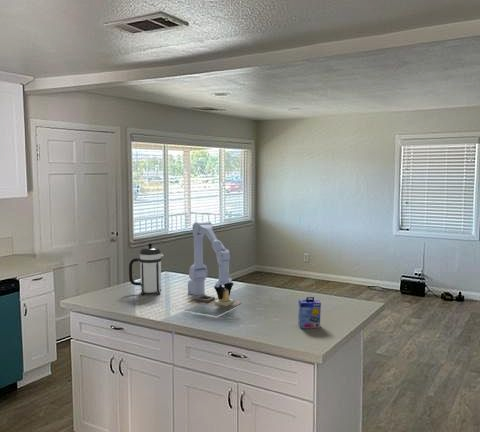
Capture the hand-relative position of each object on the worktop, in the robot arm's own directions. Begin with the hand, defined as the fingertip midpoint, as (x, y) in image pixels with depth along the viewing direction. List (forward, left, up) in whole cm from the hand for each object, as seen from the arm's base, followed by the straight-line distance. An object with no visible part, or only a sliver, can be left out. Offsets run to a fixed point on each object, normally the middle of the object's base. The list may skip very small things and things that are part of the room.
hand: (224, 297), depth 260 cm
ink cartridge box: (+53, -11, -4) cm, 54 cm away
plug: (0, 0, -3) cm, 3 cm away
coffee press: (-52, 0, -4) cm, 52 cm away
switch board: (-6, 0, -4) cm, 7 cm away
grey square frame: (-12, 0, -4) cm, 13 cm away
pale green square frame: (0, 0, -4) cm, 4 cm away
